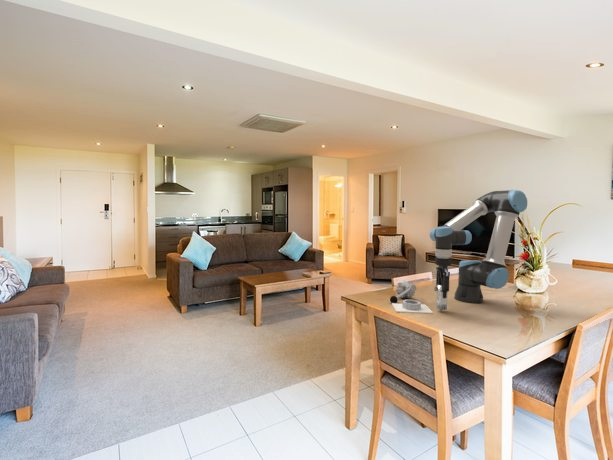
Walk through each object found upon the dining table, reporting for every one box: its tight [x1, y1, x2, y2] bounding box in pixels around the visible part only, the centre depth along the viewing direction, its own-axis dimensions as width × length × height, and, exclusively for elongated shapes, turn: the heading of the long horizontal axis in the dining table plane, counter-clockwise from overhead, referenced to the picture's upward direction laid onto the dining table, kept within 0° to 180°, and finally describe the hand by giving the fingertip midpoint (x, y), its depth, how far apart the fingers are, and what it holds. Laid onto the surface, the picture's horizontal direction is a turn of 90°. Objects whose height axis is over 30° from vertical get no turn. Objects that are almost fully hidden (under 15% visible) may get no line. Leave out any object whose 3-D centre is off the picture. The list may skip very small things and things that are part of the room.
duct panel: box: [391, 299, 434, 315], centre depth 170 cm, size 18×14×4 cm
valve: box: [389, 280, 417, 304], centre depth 187 cm, size 10×18×15 cm
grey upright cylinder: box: [433, 284, 449, 311], centre depth 166 cm, size 6×5×12 cm
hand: (441, 302), depth 166 cm, fingers closed on grey upright cylinder, 5 cm apart
